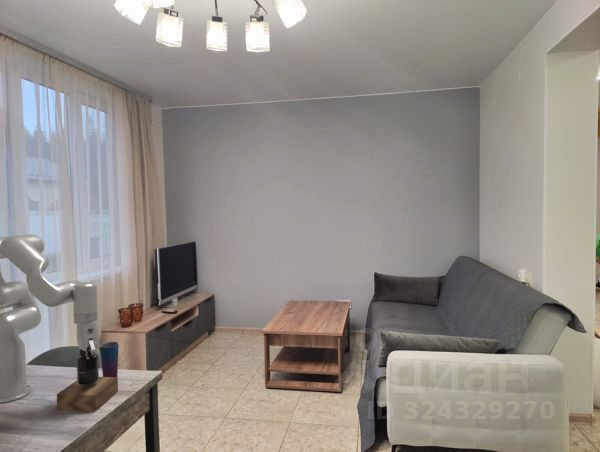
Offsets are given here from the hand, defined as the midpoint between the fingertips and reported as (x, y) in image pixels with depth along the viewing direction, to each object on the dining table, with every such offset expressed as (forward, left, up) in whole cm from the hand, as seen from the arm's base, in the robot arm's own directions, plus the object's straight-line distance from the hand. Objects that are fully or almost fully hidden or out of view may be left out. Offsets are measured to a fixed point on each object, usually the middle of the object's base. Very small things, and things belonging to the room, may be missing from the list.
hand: (87, 365), depth 139 cm
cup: (-1, +16, -13) cm, 21 cm away
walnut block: (0, 0, -13) cm, 13 cm away
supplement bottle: (0, 0, -6) cm, 6 cm away
